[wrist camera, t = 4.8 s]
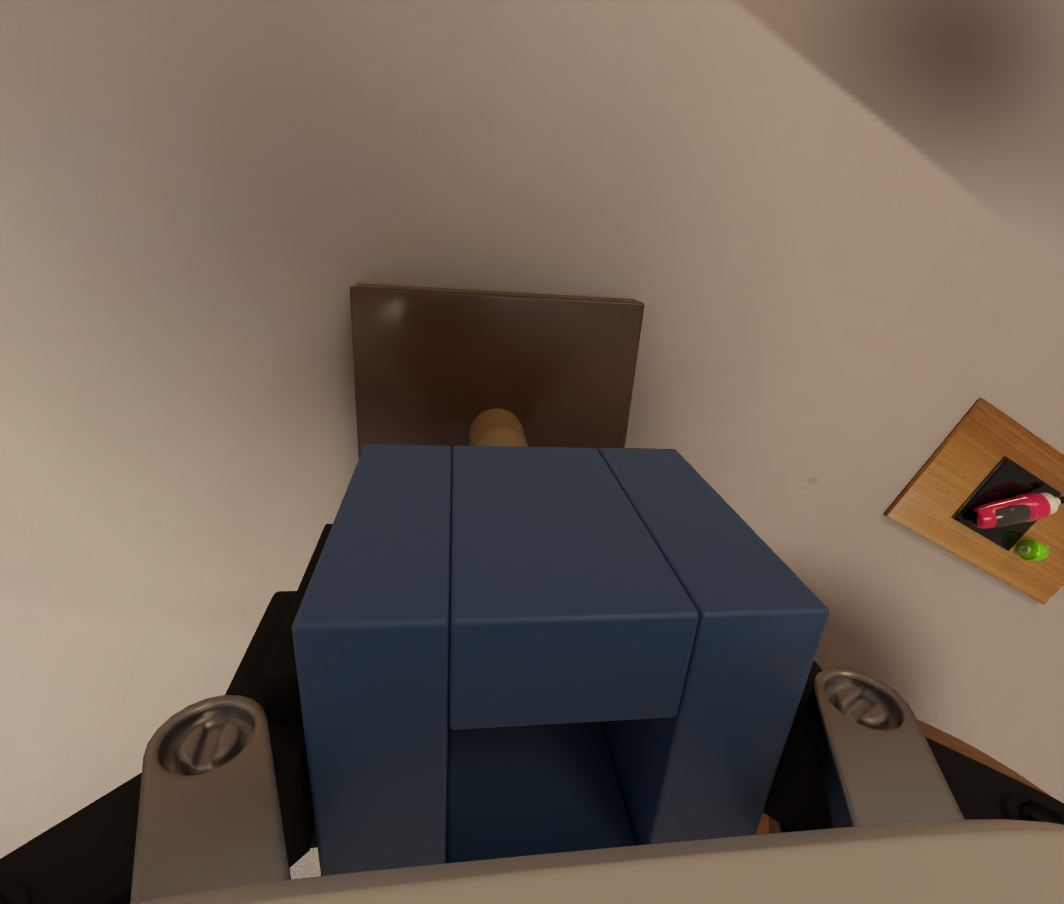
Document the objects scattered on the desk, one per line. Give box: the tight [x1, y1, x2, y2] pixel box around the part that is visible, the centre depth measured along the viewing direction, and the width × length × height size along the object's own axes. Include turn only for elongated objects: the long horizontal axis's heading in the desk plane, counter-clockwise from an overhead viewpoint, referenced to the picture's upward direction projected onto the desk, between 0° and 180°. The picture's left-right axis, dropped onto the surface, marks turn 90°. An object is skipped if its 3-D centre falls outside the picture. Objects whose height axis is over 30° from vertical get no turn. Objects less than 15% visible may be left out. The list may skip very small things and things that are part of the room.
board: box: [884, 398, 1064, 604], centre depth 26 cm, size 6×12×2 cm, turn 61°
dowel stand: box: [350, 283, 644, 458], centre depth 19 cm, size 10×10×7 cm
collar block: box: [292, 444, 829, 876], centre depth 9 cm, size 6×6×5 cm
